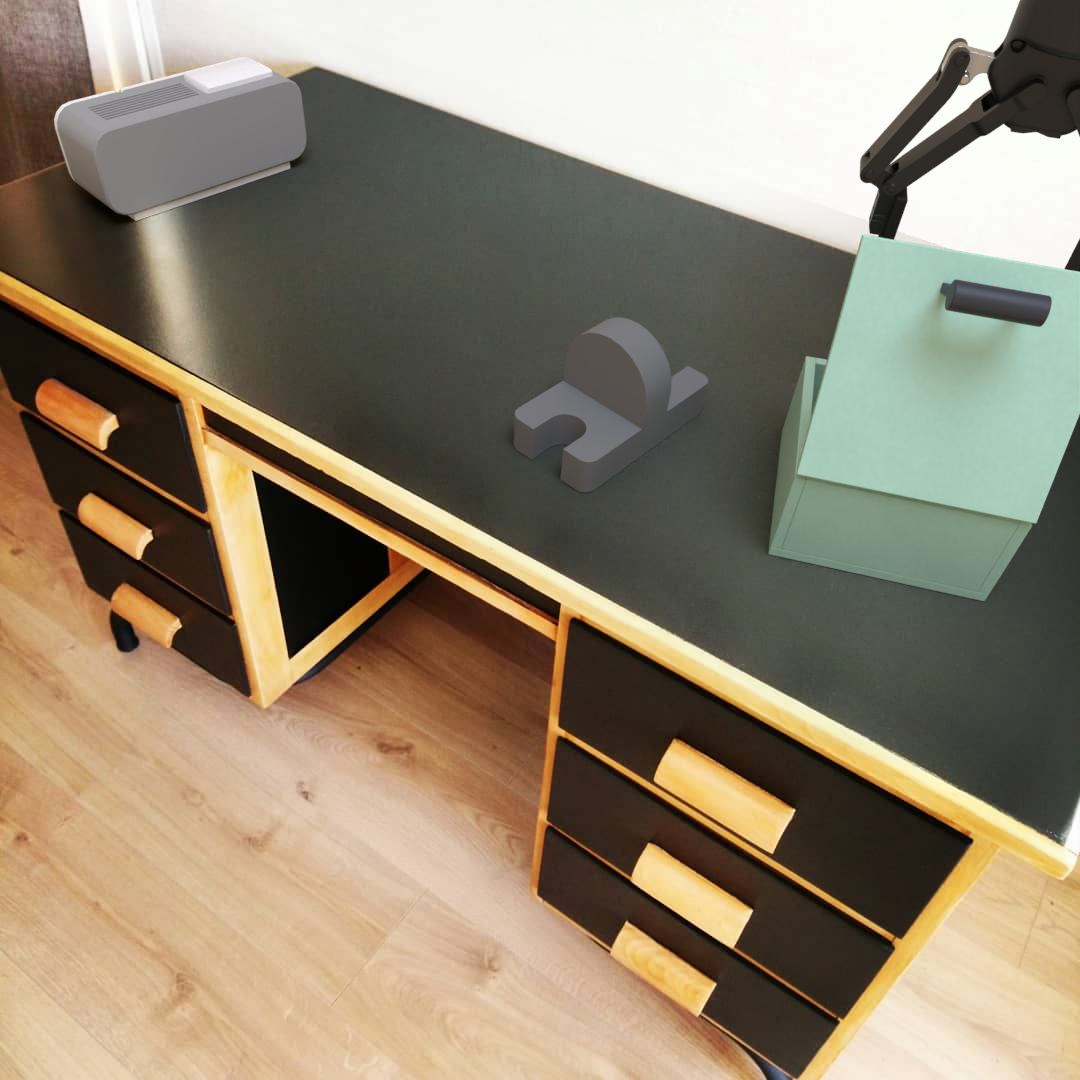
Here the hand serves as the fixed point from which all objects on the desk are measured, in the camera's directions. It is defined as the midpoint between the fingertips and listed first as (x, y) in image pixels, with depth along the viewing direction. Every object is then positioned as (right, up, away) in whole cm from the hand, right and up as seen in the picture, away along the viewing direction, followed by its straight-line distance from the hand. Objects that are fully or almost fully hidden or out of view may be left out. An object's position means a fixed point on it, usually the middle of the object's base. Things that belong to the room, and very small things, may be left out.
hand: (965, 288), depth 71 cm
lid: (-2, -8, -3) cm, 8 cm away
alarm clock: (-75, +26, +47) cm, 92 cm away
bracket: (-25, -8, +19) cm, 33 cm away
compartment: (-2, -16, +13) cm, 21 cm away
